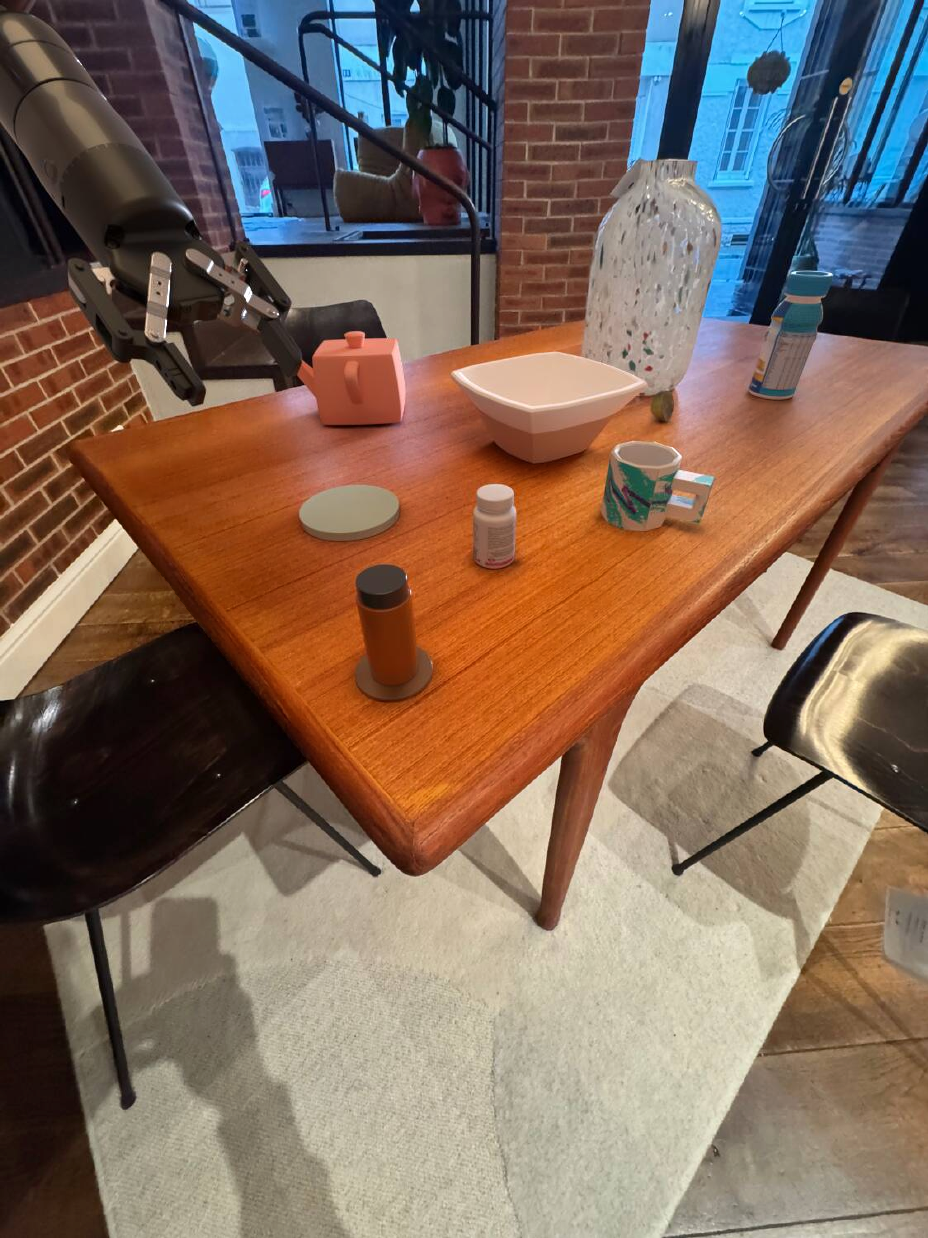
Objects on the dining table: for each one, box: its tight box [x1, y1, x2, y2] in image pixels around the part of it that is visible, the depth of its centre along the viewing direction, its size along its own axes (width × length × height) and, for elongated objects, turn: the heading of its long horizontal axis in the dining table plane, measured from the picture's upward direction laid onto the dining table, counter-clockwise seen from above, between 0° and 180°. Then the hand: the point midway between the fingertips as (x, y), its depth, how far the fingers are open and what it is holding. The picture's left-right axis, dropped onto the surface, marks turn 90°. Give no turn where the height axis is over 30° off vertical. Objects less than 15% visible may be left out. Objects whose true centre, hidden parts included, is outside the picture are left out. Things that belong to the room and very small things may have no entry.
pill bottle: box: [472, 483, 517, 570], centre depth 58 cm, size 5×5×8 cm
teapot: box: [296, 330, 406, 426], centre depth 93 cm, size 20×22×14 cm
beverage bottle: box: [748, 270, 834, 401], centre depth 96 cm, size 8×8×20 cm
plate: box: [298, 484, 401, 542], centre depth 69 cm, size 13×13×1 cm
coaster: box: [354, 646, 434, 703], centre depth 47 cm, size 7×7×1 cm
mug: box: [600, 440, 716, 532], centre depth 64 cm, size 8×12×8 cm
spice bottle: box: [354, 563, 419, 686], centre depth 44 cm, size 4×4×10 cm
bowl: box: [450, 351, 648, 465], centre depth 82 cm, size 24×25×11 cm
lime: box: [649, 389, 675, 422], centre depth 92 cm, size 4×5×5 cm
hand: (251, 383), depth 40 cm, fingers open, 8 cm apart
